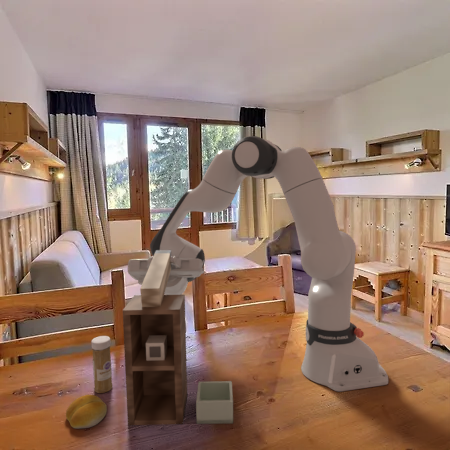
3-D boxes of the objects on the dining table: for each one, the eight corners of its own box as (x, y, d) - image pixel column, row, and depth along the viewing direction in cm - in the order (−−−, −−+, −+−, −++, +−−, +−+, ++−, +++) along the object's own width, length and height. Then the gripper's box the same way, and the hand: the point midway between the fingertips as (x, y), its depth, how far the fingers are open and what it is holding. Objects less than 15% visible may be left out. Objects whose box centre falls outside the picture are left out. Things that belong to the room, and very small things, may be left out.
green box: (231, 400, 83) (231, 381, 83) (233, 423, 75) (232, 401, 75) (198, 401, 83) (198, 381, 83) (196, 423, 75) (196, 402, 75)
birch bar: (172, 265, 93) (171, 250, 91) (160, 306, 74) (159, 288, 72) (157, 265, 93) (155, 250, 91) (141, 307, 74) (140, 288, 72)
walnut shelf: (187, 396, 85) (184, 294, 82) (182, 424, 75) (179, 309, 72) (138, 397, 85) (134, 295, 82) (127, 425, 75) (122, 310, 72)
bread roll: (75, 436, 72) (74, 418, 72) (62, 415, 79) (61, 399, 79) (113, 418, 78) (112, 402, 77) (98, 400, 84) (97, 385, 84)
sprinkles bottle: (105, 395, 86) (102, 344, 85) (90, 392, 87) (87, 341, 86) (116, 385, 90) (113, 336, 89) (101, 382, 92) (99, 334, 90)
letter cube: (167, 351, 80) (166, 335, 80) (164, 360, 76) (163, 343, 76) (150, 351, 80) (149, 335, 80) (146, 360, 76) (145, 343, 76)
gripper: (204, 283, 100) (202, 270, 87) (133, 284, 100) (121, 271, 87) (204, 263, 103) (202, 247, 90) (135, 263, 102) (123, 248, 90)
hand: (161, 259), depth 89 cm, fingers closed on birch bar, 4 cm apart
